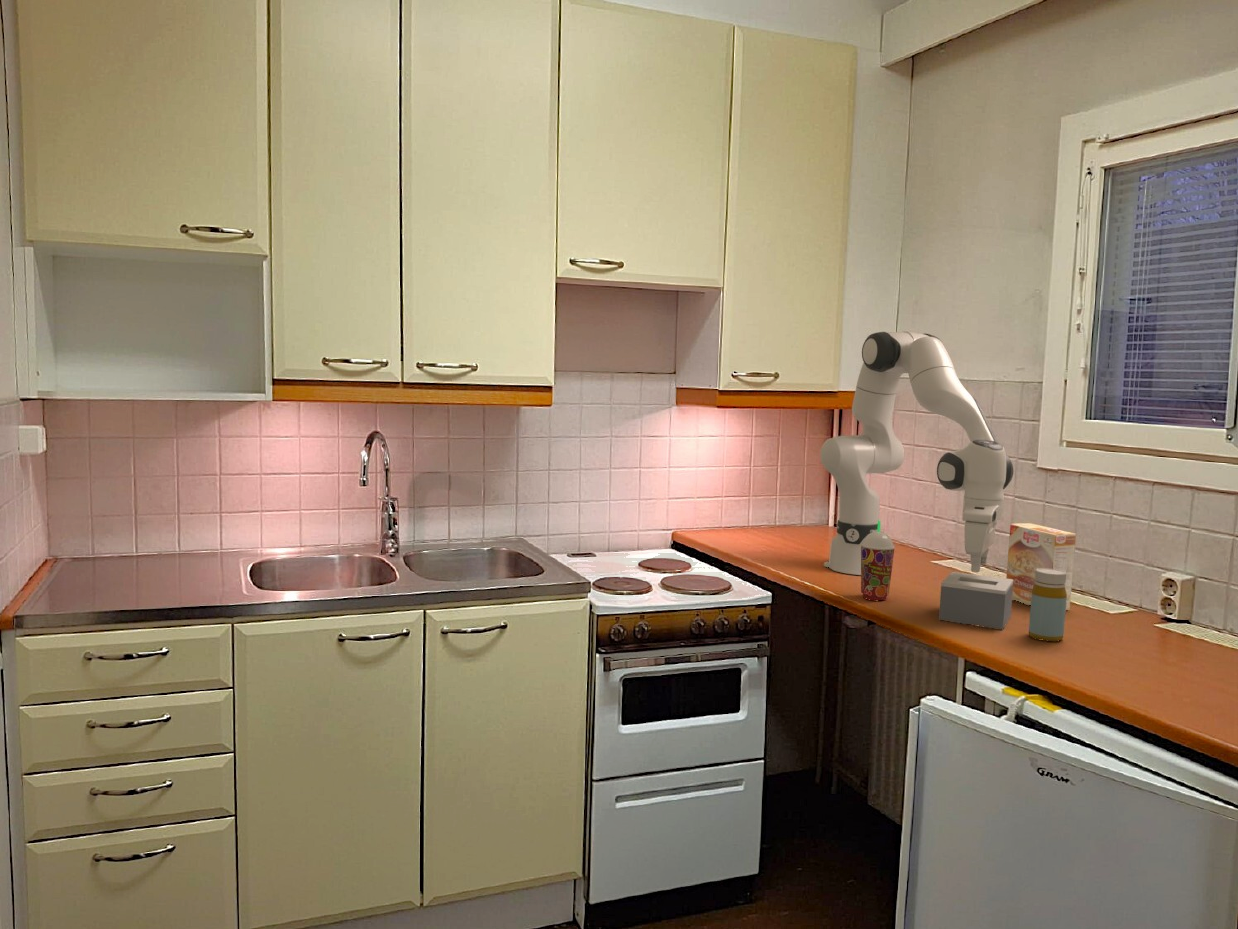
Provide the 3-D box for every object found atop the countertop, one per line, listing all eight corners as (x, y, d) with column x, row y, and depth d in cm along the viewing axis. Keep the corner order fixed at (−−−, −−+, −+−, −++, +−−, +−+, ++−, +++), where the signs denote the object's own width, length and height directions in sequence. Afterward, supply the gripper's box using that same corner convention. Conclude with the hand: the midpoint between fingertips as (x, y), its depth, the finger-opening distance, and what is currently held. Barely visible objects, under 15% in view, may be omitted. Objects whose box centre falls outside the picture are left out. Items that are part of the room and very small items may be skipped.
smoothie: (868, 603, 236) (873, 523, 233) (851, 595, 244) (856, 518, 241) (898, 601, 238) (903, 523, 236) (880, 593, 246) (885, 517, 244)
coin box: (949, 607, 234) (952, 571, 233) (1010, 616, 227) (1013, 579, 226) (938, 620, 222) (941, 582, 221) (1002, 630, 215) (1005, 591, 214)
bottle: (1033, 631, 215) (1038, 566, 213) (1066, 637, 210) (1072, 571, 209) (1024, 637, 209) (1029, 571, 208) (1058, 644, 205) (1063, 576, 203)
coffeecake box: (1003, 597, 246) (1009, 523, 243) (1024, 596, 248) (1030, 522, 246) (1048, 612, 232) (1054, 534, 230) (1070, 610, 234) (1077, 532, 232)
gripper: (975, 503, 232) (971, 558, 234) (961, 514, 214) (957, 574, 216) (1003, 505, 229) (999, 562, 231) (990, 517, 211) (986, 577, 213)
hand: (978, 568), depth 223 cm, fingers open, 8 cm apart
